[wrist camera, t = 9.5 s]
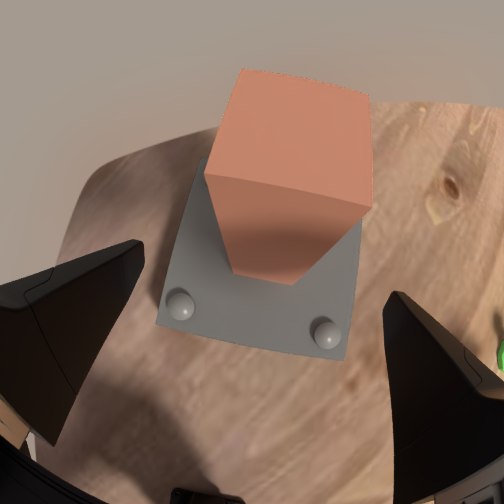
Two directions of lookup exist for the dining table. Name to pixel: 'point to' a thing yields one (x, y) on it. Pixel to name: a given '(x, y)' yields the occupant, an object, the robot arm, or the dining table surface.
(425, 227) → the dining table surface
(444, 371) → the robot arm
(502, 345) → the game piece
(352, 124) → the pillar brick
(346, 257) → the base brick
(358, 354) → the dining table surface
